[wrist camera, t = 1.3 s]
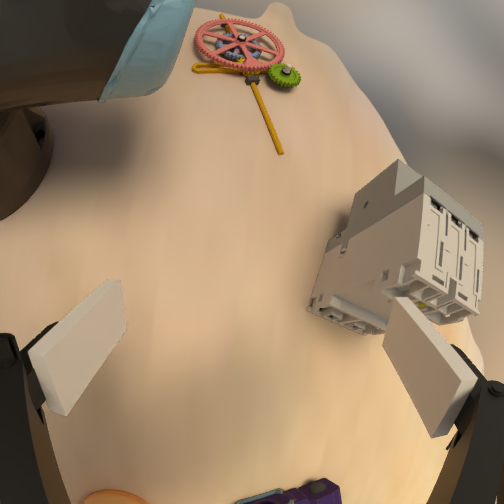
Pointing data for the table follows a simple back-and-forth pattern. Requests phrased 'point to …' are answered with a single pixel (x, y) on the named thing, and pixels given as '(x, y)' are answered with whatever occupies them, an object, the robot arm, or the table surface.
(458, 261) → the circuit breaker
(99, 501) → the orange joystick peg
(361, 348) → the table surface
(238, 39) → the mechanical gear assembly
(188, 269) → the table surface
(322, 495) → the pistol
